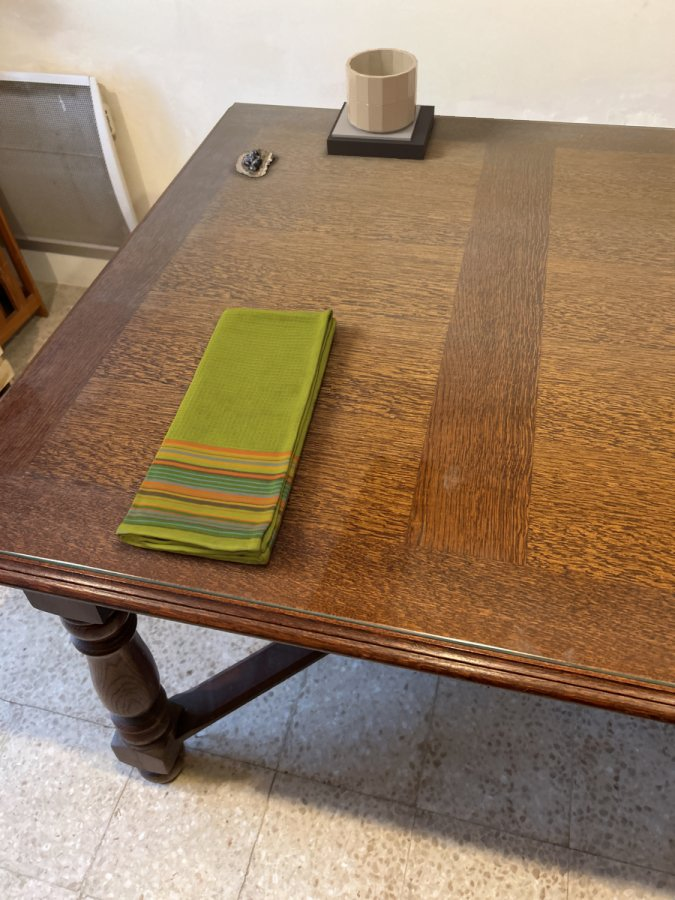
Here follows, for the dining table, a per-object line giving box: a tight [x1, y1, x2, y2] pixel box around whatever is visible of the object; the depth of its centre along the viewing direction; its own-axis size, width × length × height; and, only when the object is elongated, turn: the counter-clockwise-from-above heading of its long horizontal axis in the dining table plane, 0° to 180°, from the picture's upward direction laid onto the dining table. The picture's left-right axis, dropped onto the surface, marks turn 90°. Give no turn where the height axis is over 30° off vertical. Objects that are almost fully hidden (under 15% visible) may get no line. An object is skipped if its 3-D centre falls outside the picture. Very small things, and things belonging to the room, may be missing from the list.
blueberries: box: [235, 148, 275, 179], centre depth 116 cm, size 7×8×2 cm
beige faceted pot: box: [345, 47, 419, 133], centre depth 115 cm, size 11×11×9 cm
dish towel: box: [115, 307, 338, 565], centre depth 78 cm, size 15×36×3 cm, turn 169°
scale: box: [326, 101, 436, 161], centre depth 120 cm, size 16×14×3 cm
